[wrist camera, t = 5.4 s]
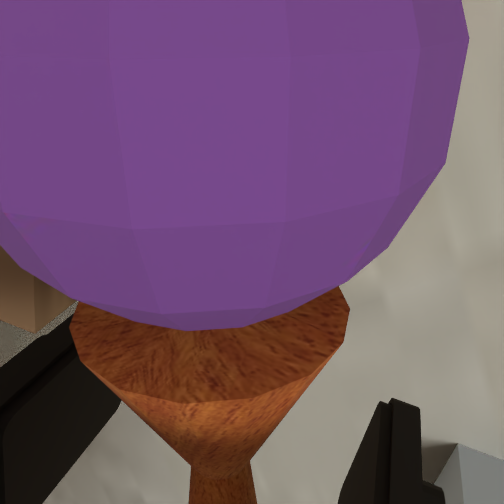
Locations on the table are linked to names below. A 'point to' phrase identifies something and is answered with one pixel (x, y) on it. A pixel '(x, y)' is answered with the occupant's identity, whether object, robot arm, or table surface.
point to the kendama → (217, 190)
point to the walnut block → (27, 297)
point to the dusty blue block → (472, 478)
